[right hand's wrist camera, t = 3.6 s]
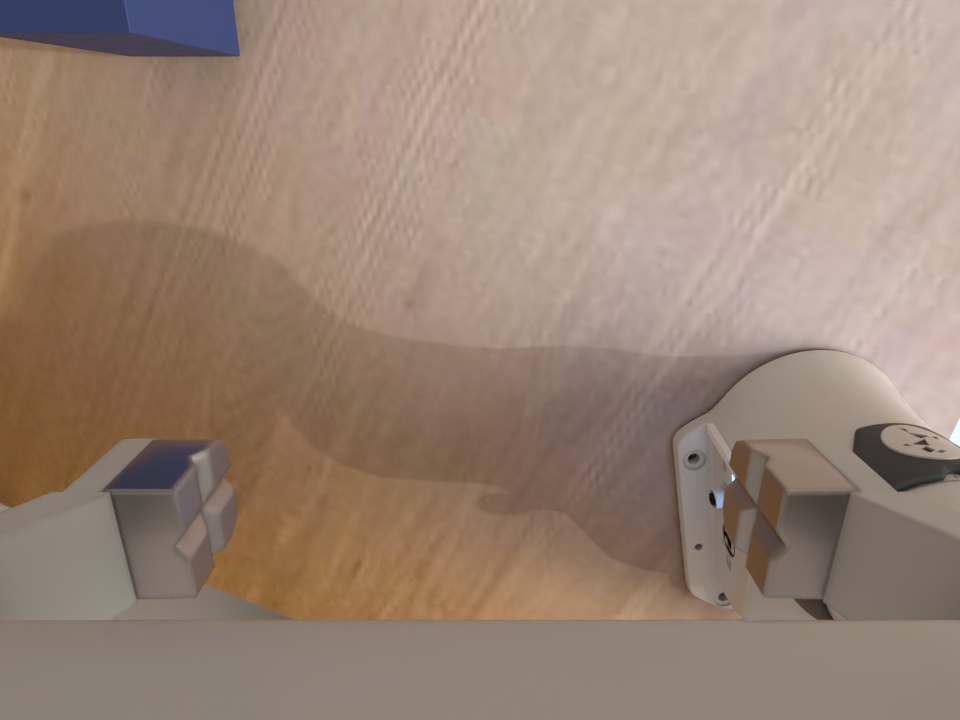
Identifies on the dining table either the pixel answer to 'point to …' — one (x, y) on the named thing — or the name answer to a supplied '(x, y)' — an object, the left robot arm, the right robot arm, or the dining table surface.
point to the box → (125, 25)
